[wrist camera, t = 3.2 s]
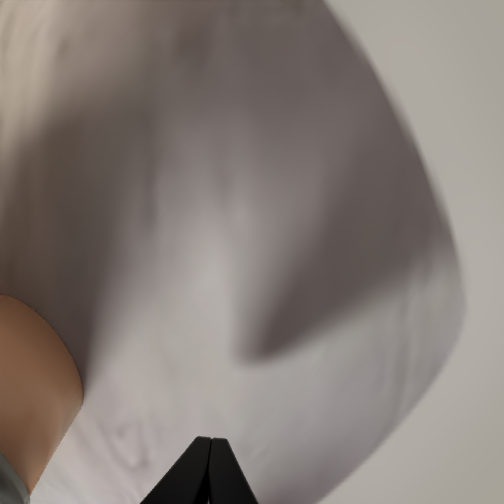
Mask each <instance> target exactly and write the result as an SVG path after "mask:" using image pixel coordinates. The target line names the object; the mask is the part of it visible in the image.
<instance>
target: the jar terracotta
mask: <svg viewBox="0 0 504 504" xmlns="http://www.w3.org/2000/svg"><path fill="white" fill-rule="evenodd" d="M82 402H83V388H82V382H81V378H80V375H79V372H78V369H77V367H76V364H75V362H74V360H73V358H72V356H71V354H70V353H69V351H68V349H67V348H66V346H65V344H64V343H63V341H62V340H61V339H60V337H59V336H58V334H57V333H56V332H55V331H54V330H53V328H52V327H51V326H50V325H49V324H48V323H47V322H46V321H45V320H44V319H43V318H42V317H41V316H40V315H39V314H38V313H37V312H36V311H35V310H33V309H32V308H31V307H29V306H28V305H27V304H25V303H23V302H22V301H20V300H18V299H16V298H14V297H11V296H8V295H4V294H0V504H30V495H31V493H32V491H33V490H34V488H35V486H36V484H37V482H38V480H39V479H40V477H41V475H42V473H43V472H44V470H45V468H46V466H47V465H48V463H49V461H50V459H51V458H52V456H53V454H54V452H55V451H56V449H57V447H58V446H59V444H60V442H61V441H62V439H63V437H64V436H65V434H66V432H67V431H68V429H69V427H70V426H71V424H72V422H73V421H74V419H75V417H76V416H77V414H78V413H79V411H80V409H81V406H82Z"/></svg>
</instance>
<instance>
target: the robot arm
mask: <svg viewBox="0 0 504 504" xmlns="http://www.w3.org/2000/svg"><path fill="white" fill-rule="evenodd" d="M208 503H209V504H258V502H257V500H256V498H255V496H254V494H253V492H252V490H251V488H250V486H249V484H248V482H247V480H246V478H245V476H244V474H243V472H242V470H241V468H240V466H239V464H238V461H237V459H236V457H235V455H234V453H233V451H232V449H231V446H230V444H229V442H228V440H227V439H225V438H213V439H211V438H210V437H202V436H198V437H196V438H195V439H194V441H193V442H192V443H191V444H190V445H189V447H188V448H187V449H186V450H185V452H184V453H183V454H182V455H181V456H180V458H179V459H178V460H177V461H176V462H175V464H174V465H173V466H172V467H171V468H170V470H169V471H168V472H167V473H166V474H165V475H164V477H163V478H162V479H161V480H160V481H159V482H158V484H157V485H156V486H155V487H154V488H153V489H152V490H151V492H150V493H149V494H148V495H147V496H146V497H145V498H144V499H143V501H142V502H141V503H140V504H208Z"/></svg>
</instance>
